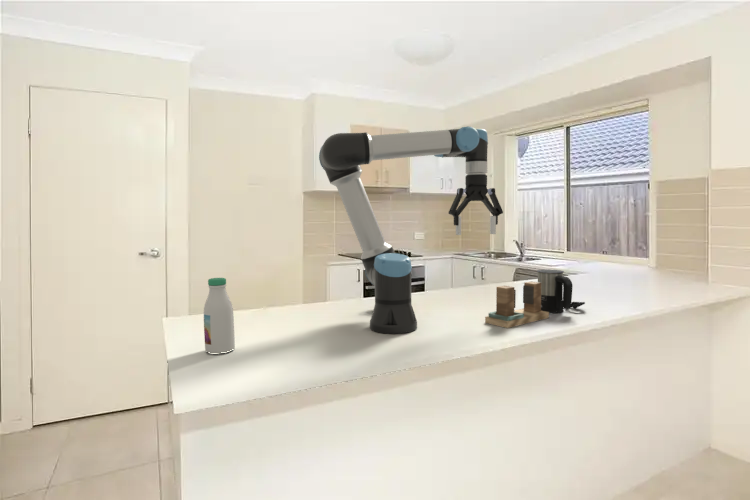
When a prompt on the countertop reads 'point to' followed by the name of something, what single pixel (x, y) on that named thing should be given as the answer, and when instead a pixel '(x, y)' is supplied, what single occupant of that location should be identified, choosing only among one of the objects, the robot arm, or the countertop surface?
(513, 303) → the brown wooden block
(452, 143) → the robot arm
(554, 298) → the milk frother
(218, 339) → the milk bottle
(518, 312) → the wooden docking stand
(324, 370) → the countertop surface
